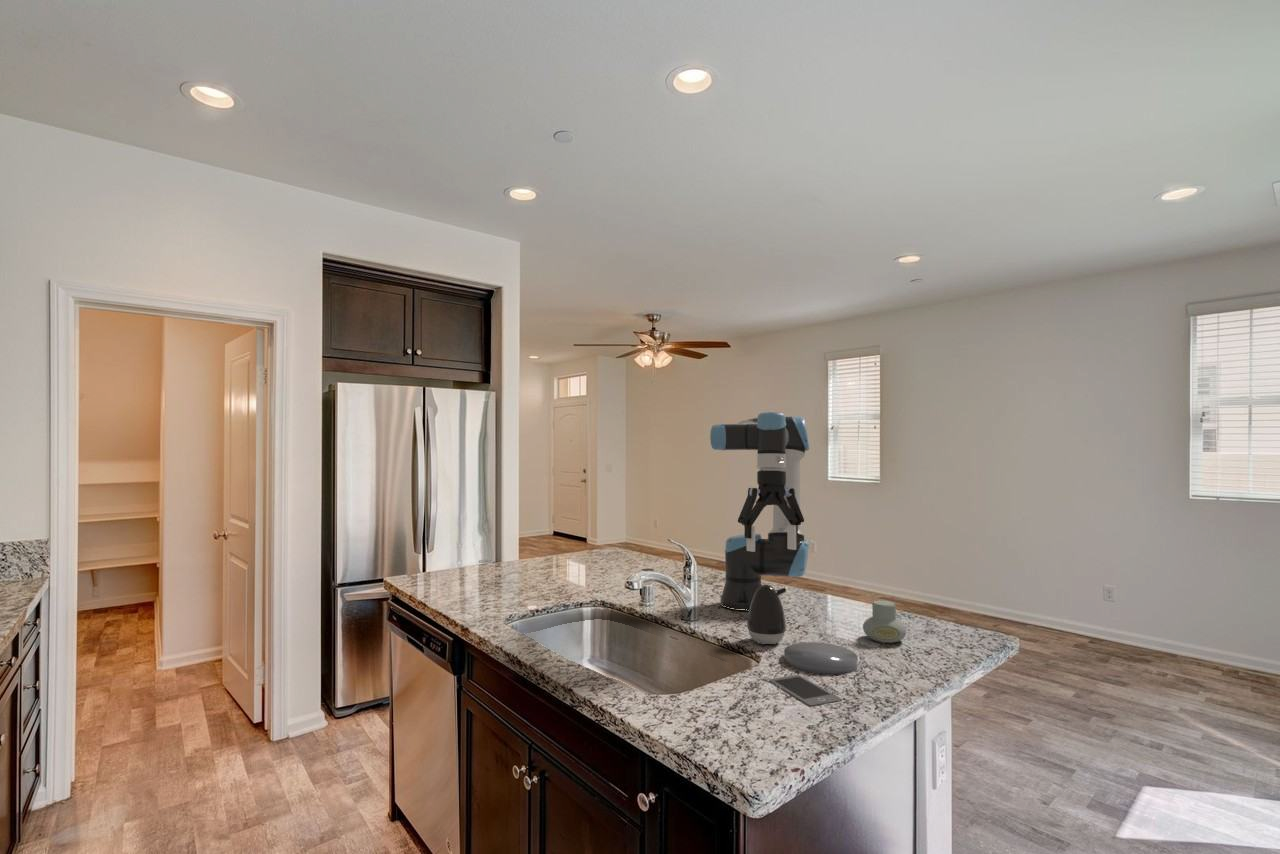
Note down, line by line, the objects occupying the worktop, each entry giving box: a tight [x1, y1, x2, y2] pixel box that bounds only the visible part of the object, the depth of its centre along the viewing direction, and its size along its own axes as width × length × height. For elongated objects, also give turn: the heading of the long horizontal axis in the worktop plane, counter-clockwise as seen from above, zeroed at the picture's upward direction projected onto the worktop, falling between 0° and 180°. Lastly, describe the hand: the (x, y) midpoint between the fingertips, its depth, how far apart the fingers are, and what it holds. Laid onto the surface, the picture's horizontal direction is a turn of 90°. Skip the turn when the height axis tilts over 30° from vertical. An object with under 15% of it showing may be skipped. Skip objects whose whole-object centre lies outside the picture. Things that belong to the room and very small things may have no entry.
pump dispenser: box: [746, 584, 787, 645], centre depth 164 cm, size 10×10×15 cm
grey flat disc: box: [783, 641, 858, 675], centre depth 148 cm, size 17×17×2 cm
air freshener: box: [862, 600, 907, 644], centre depth 165 cm, size 11×8×10 cm
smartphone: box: [768, 674, 843, 708], centre depth 131 cm, size 15×8×1 cm, turn 22°
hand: (771, 550), depth 162 cm, fingers open, 13 cm apart
